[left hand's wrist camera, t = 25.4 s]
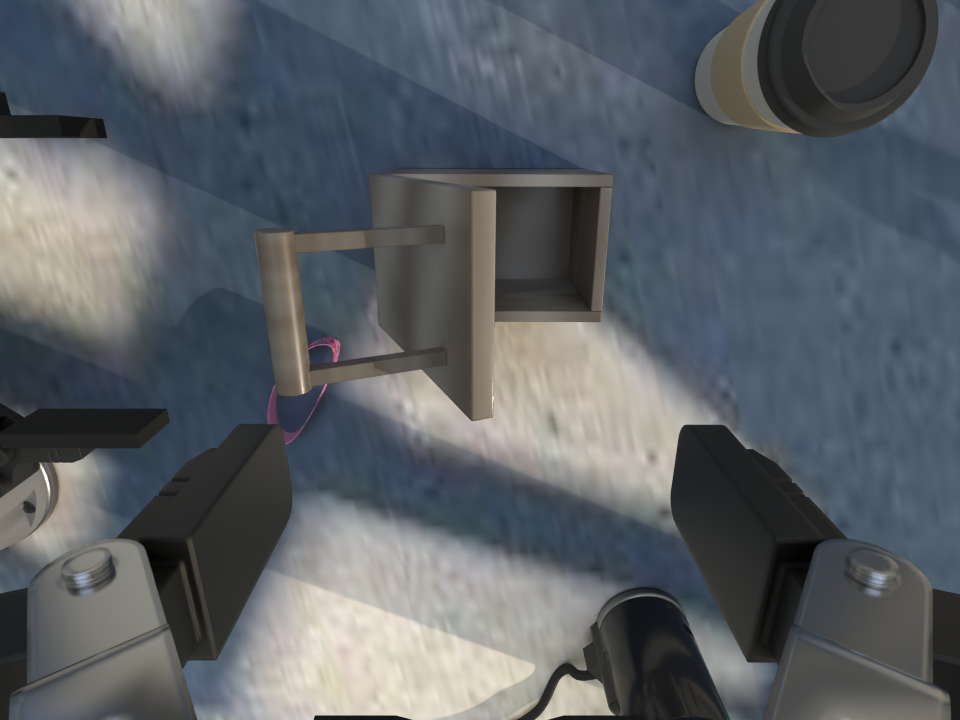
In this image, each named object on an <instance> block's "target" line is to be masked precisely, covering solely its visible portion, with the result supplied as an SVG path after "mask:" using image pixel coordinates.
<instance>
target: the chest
mask: <svg viewBox="0 0 960 720" xmlns="http://www.w3.org/2000/svg"><path fill="white" fill-rule="evenodd" d="M380 174H389V175H396V176H403V177H410V178H417V179H424V180H431V181H438V182H445V183H452V184H459V185H466V186H473V187H481V188H488V189H494V190H496V242H495V318H494V322H601V315H602V312H601V311H602V304H603V292H604V280H605V268H606V256H607V244H608V232H609V220H610V208H611V196H612V184H613V174H608V173H603V172H597V171H592V170H586V169H558V168H400V169H397V170H393V171H388V172H384V173H380Z"/></svg>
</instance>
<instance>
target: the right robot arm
mask: <svg viewBox="0 0 960 720" xmlns="http://www.w3.org/2000/svg"><path fill="white" fill-rule="evenodd" d="M0 138H107V135H106V131H105V126H104V122H103V119H96V118H84V117H72V116H60V115H11V113H10V110H9V106H8V102H7V99H6V95H5V93H4V92H2V91H0ZM168 423H169V417H168V413H167V409H38V410H37V411H35V412H33V413H31V414H30V415H28V416H26V417H25V418H24V417H22V416H21V415H19V414H17V413H16V412H14V411H13V410H11V409H9V408H8V407H6V406H4V405H3V404H1V403H0V550H2V549H4V548H6V547H9V546H11V545H13V544H15V543H17V542H19V541H20V540H22V539H24V538H26V537H27V536H29V535H30V534H31V533H33V532H34V531H35V530H36V529H37V528H38V527H40V526H41V525H42V524H43V523H44V522H45V521H46V520H47V519H48V518H49V517H50V515H51V514H52V512H53V510H54V508H55V505H56V502H57V498H58V482H57V476H56V473H55V470H54V467H53V465H52V462H54V463H60V462H62V463H73V462H75V461H78V460H81V459H83V458H84V457H85V456H86V455H88V454H89V453H90V452H92V451H93V450H94V449H95V448H140V447H142V446H143V445H144V444H145V443H146V442H147V441H148V440H149V439H151V438H152V437H153V436H154V435H155V434H156V433H157V432H159V431H160V430H161V429H162V428H163V427H164V426H165V425H167V424H168Z"/></svg>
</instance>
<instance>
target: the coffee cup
mask: <svg viewBox="0 0 960 720" xmlns="http://www.w3.org/2000/svg"><path fill="white" fill-rule="evenodd" d="M937 34H938V8H937V2H936V0H760V1H758V2H757V3H755V4H754V5H753V6H751V7H750V8H748V9H747V10H746V11H744V12H743V13H742V14H740V15H739V16H738V17H737V18H736V19H735V20H733V21H732V23H731V24H730V25H729V26H728V27H726V28H725V29H723V30H722V31H721V32H719V33H718V34H717V35H716V36H714V37H713V38H712V39H711V40H710V42H709V43H708V44H707V45H706V47H705V48H704V50H703V52H702V53H701V55H700V58H699V60H698V63H697V67H696V71H695V90H696V95H697V98H698V100H699V103H700V105H701V106H702V108H703V109H704V111H705V112H706V113H707V114H708V115H709V116H710V117H712V118H713V119H715V120H716V121H718V122H721V123H724V124H729V125H739V126H744V127H748V128H753V129H761V130H770V131H779V132H787V133H796V134H805V135H809V136H814V137H835V136H841V135H845V134H849V133H852V132H855V131H859V130H862V129H865V128H868V127H870V126H872V125H875V124H877V123H878V122H880V121H882V120H884V119H885V118H887V117H888V116H890V115H891V114H892V113H894V112H895V111H896V110H897V109H898V108H899V107H900V106H902V105H903V104H904V103H905V101H906V100H907V99H908V98H909V97H910V96H911V95H912V93H913V92H914V91H915V89H916V88H917V87H918V85H919V83H920V82H921V80H922V79H923V77H924V75H925V73H926V71H927V69H928V67H929V64H930V62H931V59H932V56H933V53H934V50H935V46H936V41H937Z"/></svg>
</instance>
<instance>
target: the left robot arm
mask: <svg viewBox="0 0 960 720" xmlns="http://www.w3.org/2000/svg"><path fill="white" fill-rule="evenodd" d="M291 507H292V488H291V481H290V473H289V466H288V459H287V452H286V445H285V438H284V433H283V430H282V428H281V426H280V425H279V424H240V425H238V426H237V427H236V428H235V429H234V430H233V431H232V432H231V433H230V435H229V436H228V437H227V438H226V439H225V440H224V441H223V443H222V444H221V445H220V446H219V447H218V448H211V449H209V450H207V451H205V452H204V453H202V454H200V455H199V456H197V457H195V458H194V459H192V460H190V461H188V462H187V463H186V464H185V465H184V466H183V467H182V468H181V469H180V470H179V472H178V473H177V474H176V475H175V476H174V477H173V478H172V482H168V483H167V484H166V485H165V486H164V488H163V489H162V490H161V491H160V492H159V496H155V497H154V498H153V499H152V500H151V501H150V502H149V504H148V505H147V506H146V507H145V508H144V509H143V510H142V511H141V512H140V513H139V514H138V515H137V516H136V517H135V518H134V520H133V521H132V522H131V523H130V524H129V525H128V526H127V527H126V528H125V529H124V530H123V531H122V532H121V533H120V534H119V536H118V537H117V538H116V539H108V540H102V541H97V542H93V543H90V544H87V545H84V546H81V547H78V548H76V549H74V550H71V551H69V552H67V553H65V554H63V555H62V556H60V557H58V558H56V559H55V560H53V561H52V562H50V563H49V564H48V565H46V566H45V567H44V568H43V569H42V570H41V571H40V572H39V573H38V574H37V575H36V576H35V577H34V578H33V580H32V581H31V583H30V585H29V587H28V588H24V589H20V590H15V591H10V592H5V593H1V594H0V720H197V717H196V714H195V711H194V707H193V704H192V701H191V697H190V694H189V690H188V687H187V684H186V680H185V677H184V674H183V668H184V666H185V664H186V663H187V661H188V660H217V658H218V657H219V655H220V653H221V651H222V649H223V647H224V645H225V643H226V641H227V639H228V637H229V635H230V633H231V631H232V629H233V627H234V626H235V624H236V622H237V620H238V618H239V616H240V614H241V612H242V610H243V608H244V606H245V604H246V602H247V600H248V598H249V596H250V595H251V593H252V591H253V589H254V587H255V585H256V583H257V581H258V579H259V577H260V575H261V573H262V571H263V569H264V567H265V566H266V564H267V562H268V560H269V558H270V556H271V554H272V552H273V550H274V548H275V546H276V544H277V542H278V540H279V538H280V536H281V535H282V533H283V531H284V529H285V527H286V525H287V523H288V520H289V517H290V513H291ZM671 509H672V515H673V519H674V521H675V524H676V526H677V528H678V530H679V532H680V534H681V536H682V537H683V539H684V541H685V543H686V545H687V547H688V549H689V551H690V553H691V555H692V557H693V559H694V560H695V562H696V564H697V566H698V568H699V570H700V572H701V574H702V576H703V578H704V580H705V582H706V583H707V585H708V587H709V589H710V591H711V593H712V595H713V597H714V599H715V601H716V603H717V604H718V606H719V608H720V610H721V612H722V614H723V616H724V618H725V620H726V622H727V624H728V626H729V627H730V629H731V631H732V633H733V635H734V637H735V639H736V641H737V643H738V645H739V647H740V648H741V650H742V652H743V654H744V656H745V658H746V660H747V662H777V664H778V665H779V667H778V670H777V674H776V677H775V680H774V684H773V687H772V690H771V694H770V697H769V701H768V704H767V707H766V711H765V714H764V717H763V720H960V594H955V593H951V592H946V591H941V590H937V589H933V588H932V587H931V585H930V583H929V581H928V580H927V578H926V577H925V576H924V575H923V574H922V573H921V572H920V571H919V570H918V569H917V568H916V567H915V566H914V565H912V564H911V563H910V562H908V561H907V560H905V559H904V558H902V557H900V556H898V555H897V554H895V553H893V552H891V551H889V550H886V549H884V548H882V547H879V546H876V545H873V544H870V543H867V542H863V541H858V540H852V539H848V538H847V537H846V536H845V535H844V534H843V533H842V532H841V531H840V530H839V529H838V528H837V527H836V526H835V525H834V524H833V523H832V522H831V520H830V519H829V518H828V517H827V516H826V515H825V514H824V513H823V512H822V511H821V510H820V509H819V508H818V507H817V506H816V505H815V504H814V502H813V501H812V500H811V499H810V498H809V497H805V493H804V492H803V491H802V490H801V489H800V488H799V487H798V486H797V485H796V483H792V479H791V478H790V477H789V476H788V475H787V474H786V473H785V472H784V471H783V470H782V469H781V468H780V467H779V465H778V464H777V463H775V462H773V461H772V460H770V459H768V458H767V457H765V456H763V455H761V454H760V453H758V452H756V451H755V450H753V449H745V447H744V446H743V445H742V444H741V443H740V442H739V441H738V440H737V438H736V437H735V436H734V435H733V434H732V433H731V432H730V431H729V429H728V428H727V427H726V426H724V425H684V426H683V427H682V429H681V431H680V434H679V439H678V446H677V453H676V460H675V467H674V474H673V481H672V488H671ZM690 628H691V627H690V626H689V624H688V622H687V618H686V616H685V613H684V611H683V609H682V607H681V605H680V604H679V602H678V601H677V600H676V599H675V598H674V597H672V596H671V595H669V594H668V593H665V592H663V591H660V590H656V589H648V588H642V589H634V590H630V591H626V592H624V593H621V594H619V595H617V596H616V597H614V598H613V599H611V600H610V601H609V602H608V603H607V604H606V605H605V606H604V607H603V609H602V610H601V612H600V614H599V616H598V620H597V623H596V624H594V625H593V626H591V627H590V629H591V634H592V638H593V643H591V644H589V645H588V646H586V647H585V648H583V651H584V656H585V661H586V666H587V670H586V671H582V670H578V669H576V668H575V667H574V666H573V665H572V664H564V665H562V666H560V667H559V668H558V669H557V670H556V671H555V672H554V673H553V675H552V676H551V678H550V680H549V682H548V684H547V687H546V689H545V691H544V693H543V696H542V698H541V699H540V701H539V703H538V704H537V705H536V706H535V708H533V709H532V710H531V711H530V712H528V713H527V714H525V715H524V716H522V717H521V718H519V719H517V720H535V719H536V718H537V717H538V716H539V715H540V714H541V713H542V712H543V711H544V709H545V708H546V706H547V705H548V703H549V701H550V699H551V697H552V695H553V692H554V690H555V688H556V686H557V684H558V682H559V680H560V679H561V678H562V677H563V676H564V675H566V674H570V675H571V676H572V677H573V678H574V679H576V680H581V681H586V680H593V679H598V680H599V681H600V682H601V683H602V684H603V686H604V690H605V694H606V699H607V703H608V707H609V709H610V711H611V712H612V713H613V714H615V715H616V716H560V717H557V718H553V719H549V720H730V718H729V716H728V714H727V711H726V709H725V707H724V705H723V702H722V700H721V698H720V695H719V693H718V691H717V689H716V686H715V684H714V682H713V680H712V677H711V675H710V673H709V670H708V668H707V666H706V664H705V661H704V659H703V657H702V654H701V652H700V650H699V648H698V645H697V644H698V643H696V641H695V639H694V637H693V634H692V632H691V630H690ZM314 720H411V719H407V718H403V717H400V716H315V717H314Z"/></svg>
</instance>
